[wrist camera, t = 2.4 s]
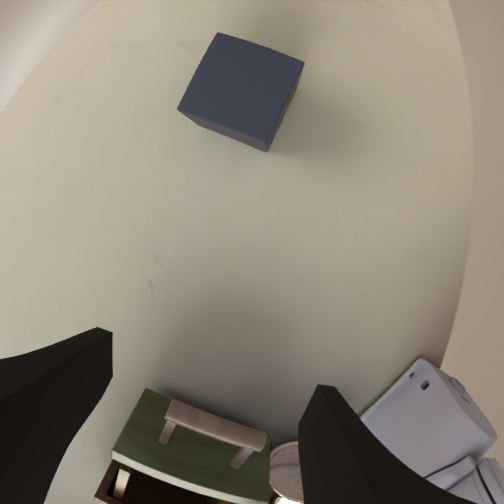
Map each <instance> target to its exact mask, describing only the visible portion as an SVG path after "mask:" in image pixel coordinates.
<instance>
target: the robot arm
mask: <svg viewBox="0 0 504 504" xmlns="http://www.w3.org/2000/svg"><path fill="white" fill-rule="evenodd" d="M112 335H113V332H110V331H107V330H104V329H102V328H99V327H96V328H93V329H91V330H88V331H85V332H83V333H80V334H78V335H76V336H73V337H71V338H68V339H65V340H63V341H60V342H58V343H55V344H53V345H50V346H47V347H44V348H41V349H38V350H35V351H32V352H29V353H26V354H22V355H18V356H14V357H9V358H4V359H0V504H44V501H45V499H46V496H47V493H48V490H49V488H50V485H51V482H52V480H53V478H54V475H55V473H56V471H57V469H58V466H59V464H60V462H61V460H62V458H63V456H64V454H65V452H66V450H67V448H68V446H69V444H70V443H71V441H72V440H73V438H74V436H75V435H76V434H77V432H78V431H79V429H80V428H81V426H82V425H83V424H84V422H85V421H86V419H87V418H88V417H89V415H90V414H91V412H92V411H93V410H94V408H95V407H96V405H97V404H98V402H99V401H100V399H101V398H102V396H103V394H104V393H105V391H106V389H107V387H108V385H109V383H110V381H111V379H112V377H113V366H112ZM411 373H413V374H411ZM410 374H411V375H410ZM496 440H497V435H496V432H495V430H494V429H493V427H492V426H491V424H490V422H489V421H488V420H487V418H486V417H485V416H484V414H483V413H482V411H481V410H480V409H479V407H478V406H477V405H476V403H475V402H474V401H473V399H472V398H471V397H470V396H469V394H468V393H467V392H466V390H465V387H464V386H463V385H462V384H461V383H460V382H459V381H458V380H456V379H455V378H454V377H452V378H451V377H450V376H448V375H447V374H446V373H444V372H443V371H441V370H440V369H439V368H437V367H436V366H434V365H433V364H431V363H430V362H429V361H427V360H426V359H424V358H419V359H417V360H416V361H415V362H414V364H413V365H412V366H411V367H410V368H409V369H408V370H407V371H406V372H405V373H404V374H403V375H402V377H401V378H400V379H399V380H398V381H397V382H396V383H395V384H394V385H393V386H392V387H391V388H390V389H389V390H388V391H387V392H386V393H385V394H384V395H383V396H382V397H381V398H380V399H379V400H378V401H376V402H375V403H374V404H373V405H372V406H371V407H370V408H369V409H368V410H367V411H366V412H365V413H364V414H362V415H361V416H360V417H358V416H357V414H356V413H355V412H354V411H353V409H352V408H351V407H350V406H349V404H348V403H347V402H346V400H345V399H344V398H343V397H342V395H341V394H340V393H339V392H338V390H337V389H336V388H335V387H333V386H326V385H319V384H318V385H317V387H316V389H315V392H314V394H313V396H312V398H311V400H310V402H309V404H308V406H307V408H306V410H305V412H304V414H303V416H302V418H301V420H300V422H299V428H298V453H299V462H300V471H301V479H302V488H303V497H304V504H504V469H503V467H502V466H501V464H500V463H499V462H498V461H497V460H496V459H495V458H486V457H485V458H483V459H482V457H483V456H484V454H485V453H486V452H487V451H488V449H489V448H490V447H491V446H492V445H493V444H494V442H495V441H496ZM481 459H482V460H481ZM480 460H481V461H480Z"/></svg>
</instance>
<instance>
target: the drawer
mask: <svg viewBox="0 0 504 504" xmlns="http://www.w3.org/2000/svg"><path fill="white" fill-rule="evenodd" d="M111 458H113V459H115V460H117V461H119V462H121V463H122V464H121V466H120V468H119V472H118V476H117V480H116V484H115V489H114V493H113V497H112V498H114V499H116V500H118V501H121V502H123V503H125V504H268V503H269V491H270V434H267V433H266V432H264V431H260V430H257V429H254V428H250V427H247V426H244V425H241V424H238V423H235V422H232V421H229V420H226V419H223V418H221V417H218V416H215V415H212V414H210V413H207V412H204V411H202V410H199V409H197V408H194V407H192V406H189V405H187V404H184V403H182V402H180V401H177V400H175V399H170V398H168V397H166V396H163V395H161V394H159V393H157V392H155V391H152V390H150V389H148V388H145V390H144V391H143V393H142V395H141V397H140V399H139V400H138V402H137V404H136V406H135V408H134V410H133V411H132V413H131V415H130V417H129V419H128V421H127V423H126V424H125V426H124V428H123V430H122V432H121V434H120V436H119V437H118V439H117V441H116V443H115V445H114V447H113V449H112V453H111Z"/></svg>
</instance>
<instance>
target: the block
mask: <svg viewBox="0 0 504 504" xmlns="http://www.w3.org/2000/svg"><path fill="white" fill-rule="evenodd" d="M303 67H304V62H303V61H300V60H298V59H295V58H293V57H290V56H288V55H285V54H283V53H280V52H278V51H275V50H272V49H269V48H267V47H264V46H261V45H258V44H255V43H252V42H249V41H246V40H243V39H239V38H236V37H233V36H229V35H226V34H222V33H219V32H217V33H216V35H215V37H214V39H213V40H212V42H211V44H210V46H209V47H208V49H207V51H206V53H205V55H204V56H203V58H202V60H201V62H200V64H199V66H198V68H197V70H196V71H195V73H194V75H193V77H192V79H191V81H190V83H189V85H188V87H187V89H186V91H185V93H184V95H183V97H182V100H181V102H180V104H179V106H178V108H177V110H178V111H179V112H181V113H182V114H184V115H185V116H186V117H188V118H189V119H191V120H192V121H193V122H195V123H196V124H197V125H199V126H202V127H204V128H207V129H210V130H212V131H215V132H217V133H220V134H223V135H225V136H228V137H230V138H233V139H235V140H237V141H240V142H242V143H245V144H247V145H250V146H252V147H254V148H257V149H259V150H261V151H264V152H267V151H268V149H269V147H270V144H271V142H272V140H273V138H274V136H275V134H276V131H277V129H278V127H279V125H280V123H281V121H282V119H283V116H284V114H285V112H286V110H287V108H288V106H289V104H290V102H291V99H292V97H293V95H294V93H295V91H296V89H297V86H298V83H299V79H300V76H301V73H302V70H303Z"/></svg>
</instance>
